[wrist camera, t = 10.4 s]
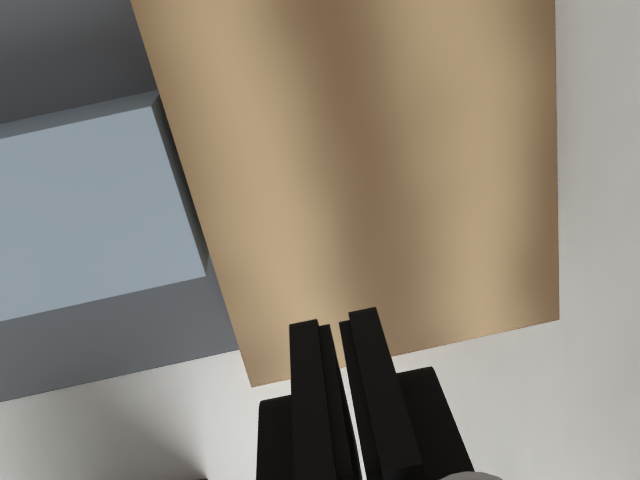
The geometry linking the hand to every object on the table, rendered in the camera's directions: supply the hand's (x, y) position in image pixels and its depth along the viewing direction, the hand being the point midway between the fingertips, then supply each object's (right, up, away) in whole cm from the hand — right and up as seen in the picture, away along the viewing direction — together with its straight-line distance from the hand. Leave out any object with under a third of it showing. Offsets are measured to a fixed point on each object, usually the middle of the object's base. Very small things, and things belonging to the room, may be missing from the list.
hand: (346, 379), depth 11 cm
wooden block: (+1, +7, +11) cm, 12 cm away
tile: (-10, +4, +10) cm, 15 cm away
